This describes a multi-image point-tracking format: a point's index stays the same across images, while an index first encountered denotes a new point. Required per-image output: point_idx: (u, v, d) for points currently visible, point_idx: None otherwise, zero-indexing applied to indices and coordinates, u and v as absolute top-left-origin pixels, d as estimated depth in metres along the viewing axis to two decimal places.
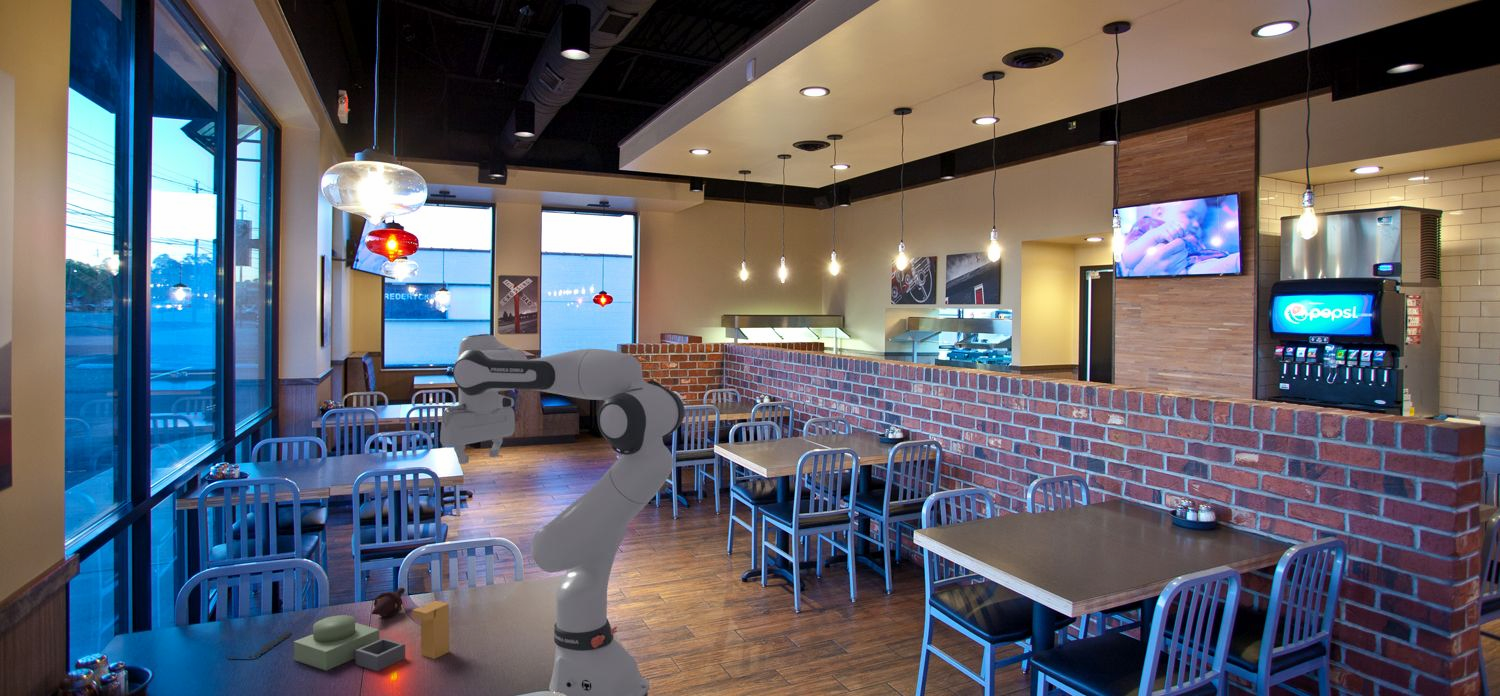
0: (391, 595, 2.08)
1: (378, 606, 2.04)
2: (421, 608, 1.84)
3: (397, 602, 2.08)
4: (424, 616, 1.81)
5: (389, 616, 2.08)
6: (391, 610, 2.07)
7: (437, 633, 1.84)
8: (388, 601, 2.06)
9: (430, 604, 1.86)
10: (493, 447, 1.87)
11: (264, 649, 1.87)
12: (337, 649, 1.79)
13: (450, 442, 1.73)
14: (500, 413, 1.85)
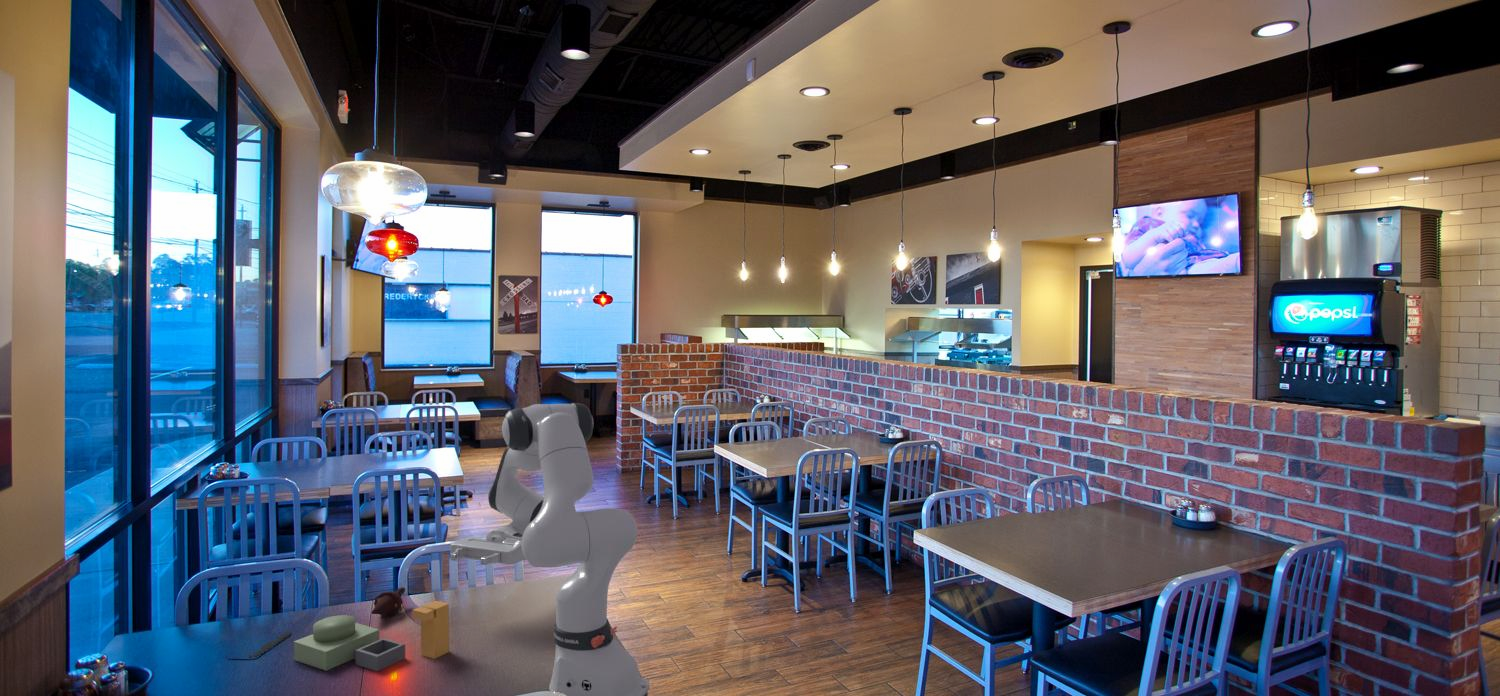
0: (391, 595, 2.08)
1: (378, 606, 2.04)
2: (421, 608, 1.84)
3: (397, 602, 2.08)
4: (424, 616, 1.81)
5: (389, 616, 2.08)
6: (391, 610, 2.07)
7: (437, 633, 1.84)
8: (388, 601, 2.07)
9: (430, 604, 1.86)
10: None
11: (264, 649, 1.87)
12: (337, 649, 1.79)
13: (451, 543, 2.05)
14: (508, 540, 2.06)
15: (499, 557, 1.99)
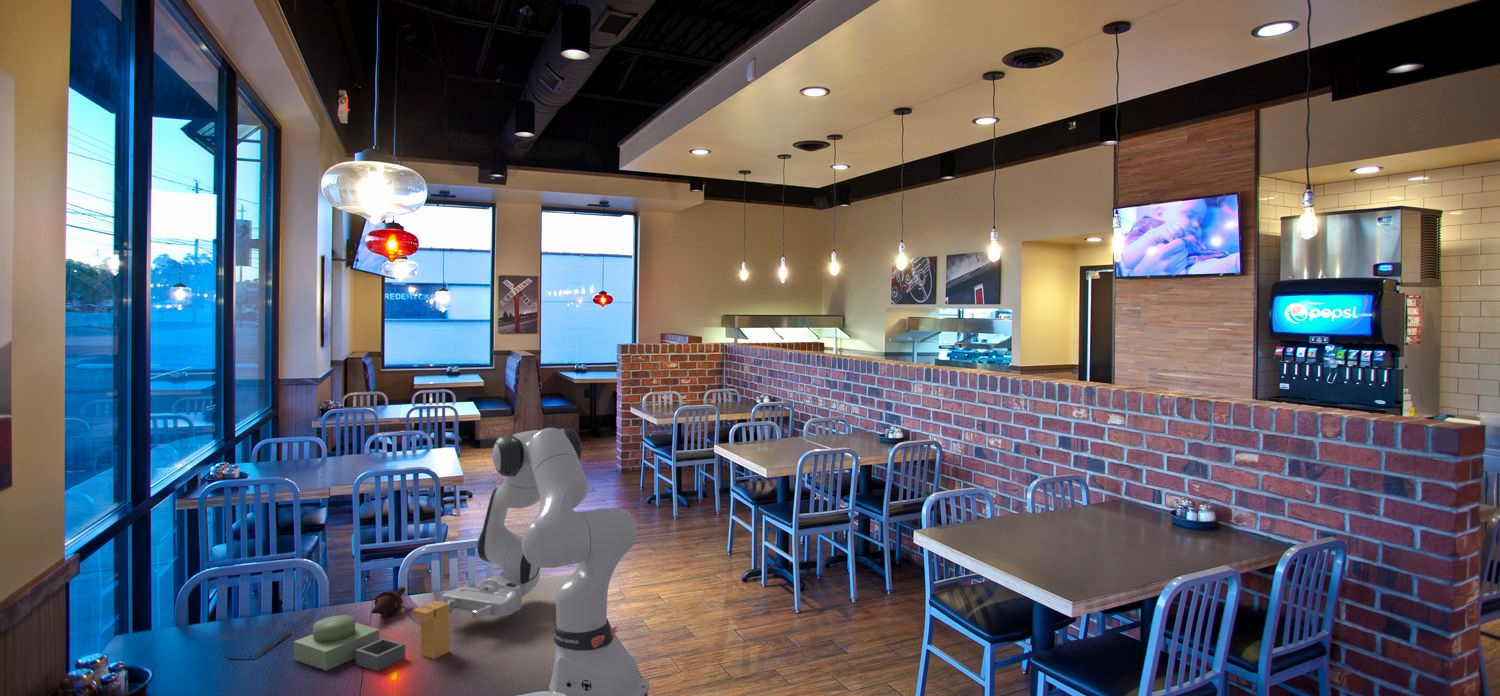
0: (391, 594, 2.09)
1: (378, 605, 2.04)
2: (421, 608, 1.84)
3: (397, 601, 2.08)
4: (424, 616, 1.81)
5: (389, 615, 2.08)
6: (391, 609, 2.07)
7: (437, 633, 1.84)
8: (388, 600, 2.07)
9: (430, 604, 1.86)
10: None
11: (264, 649, 1.87)
12: (337, 649, 1.79)
13: (443, 594, 2.03)
14: (501, 590, 2.03)
15: (491, 609, 1.96)
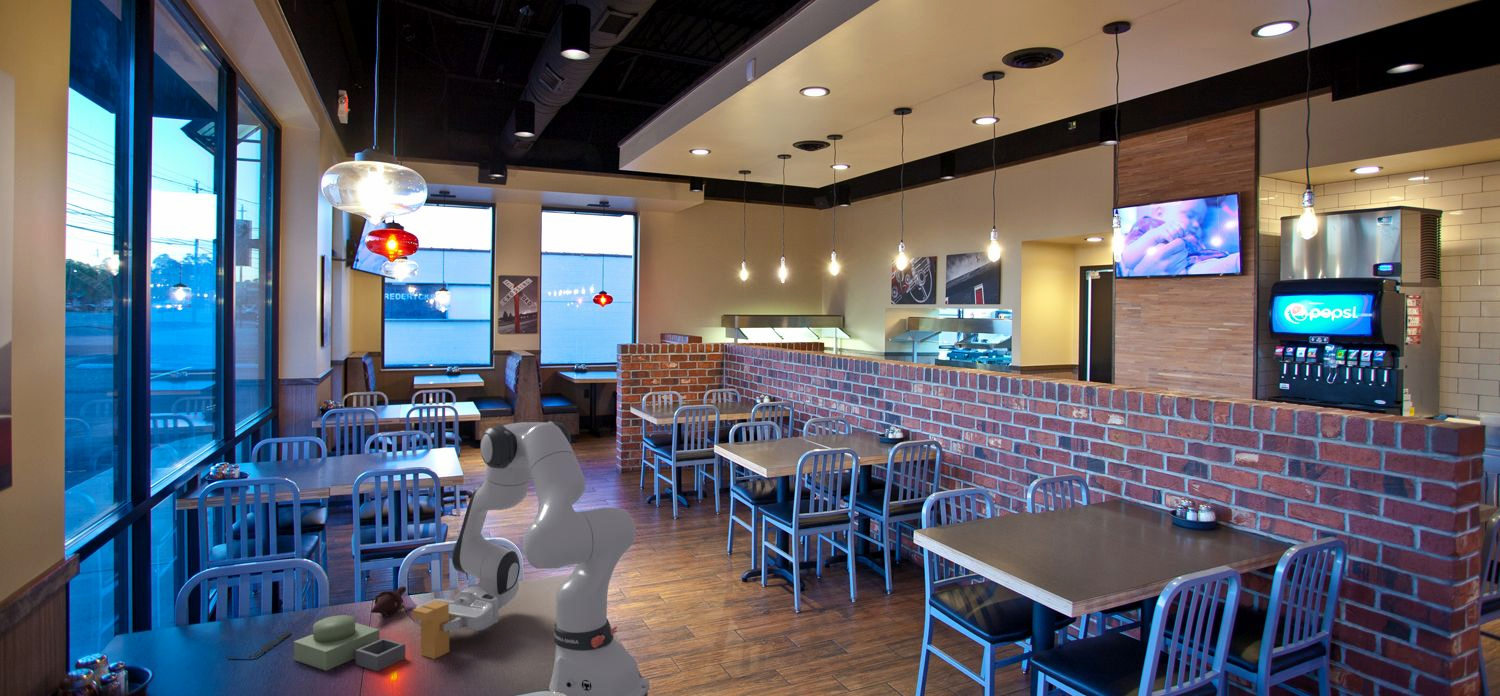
0: (391, 594, 2.09)
1: (378, 604, 2.05)
2: (421, 608, 1.84)
3: (397, 601, 2.09)
4: (424, 616, 1.81)
5: (389, 615, 2.09)
6: (391, 609, 2.08)
7: (437, 633, 1.84)
8: (388, 600, 2.07)
9: (430, 604, 1.86)
10: None
11: (264, 649, 1.87)
12: (337, 649, 1.79)
13: None
14: (477, 602, 1.94)
15: (461, 622, 1.88)
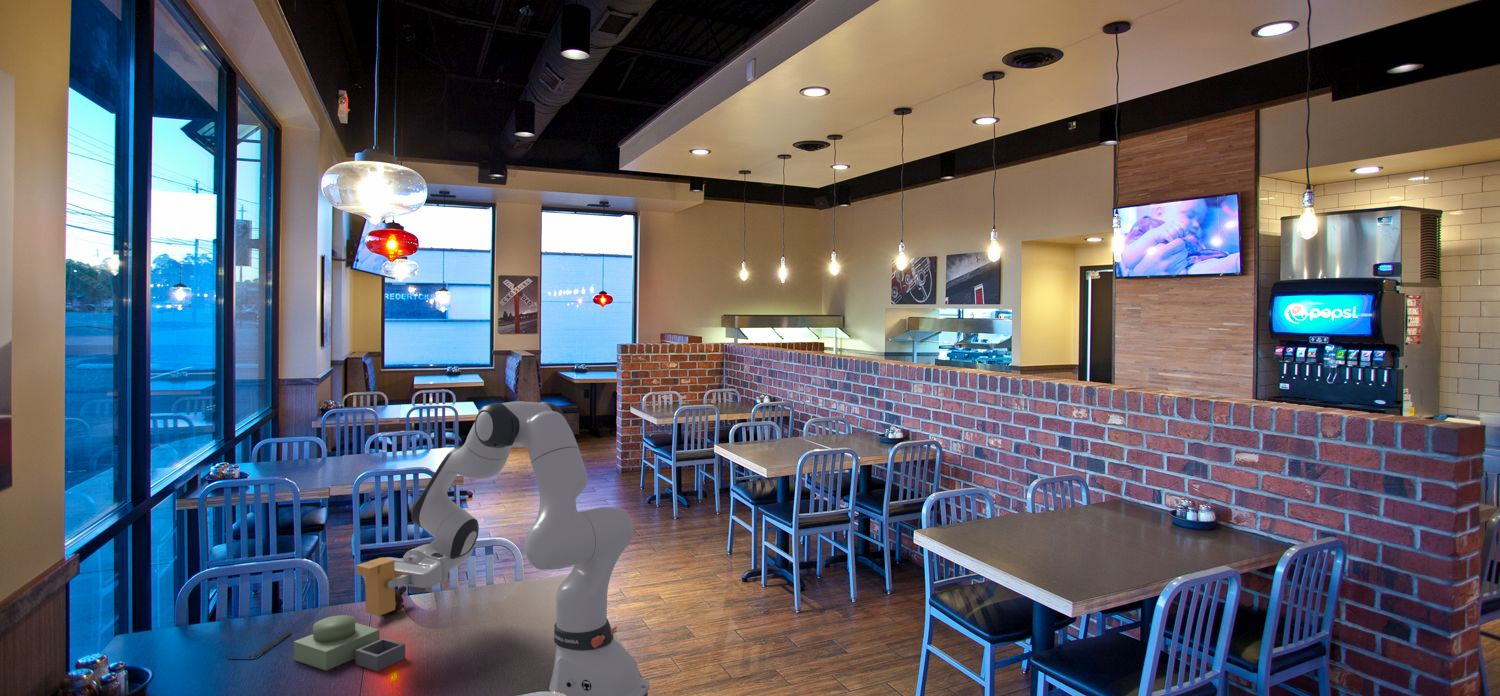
0: None
1: None
2: (365, 564, 1.79)
3: (397, 600, 2.09)
4: (367, 571, 1.76)
5: (389, 614, 2.09)
6: None
7: (382, 590, 1.79)
8: None
9: (375, 560, 1.81)
10: None
11: (264, 649, 1.87)
12: (337, 649, 1.79)
13: None
14: (425, 560, 1.89)
15: (407, 579, 1.83)
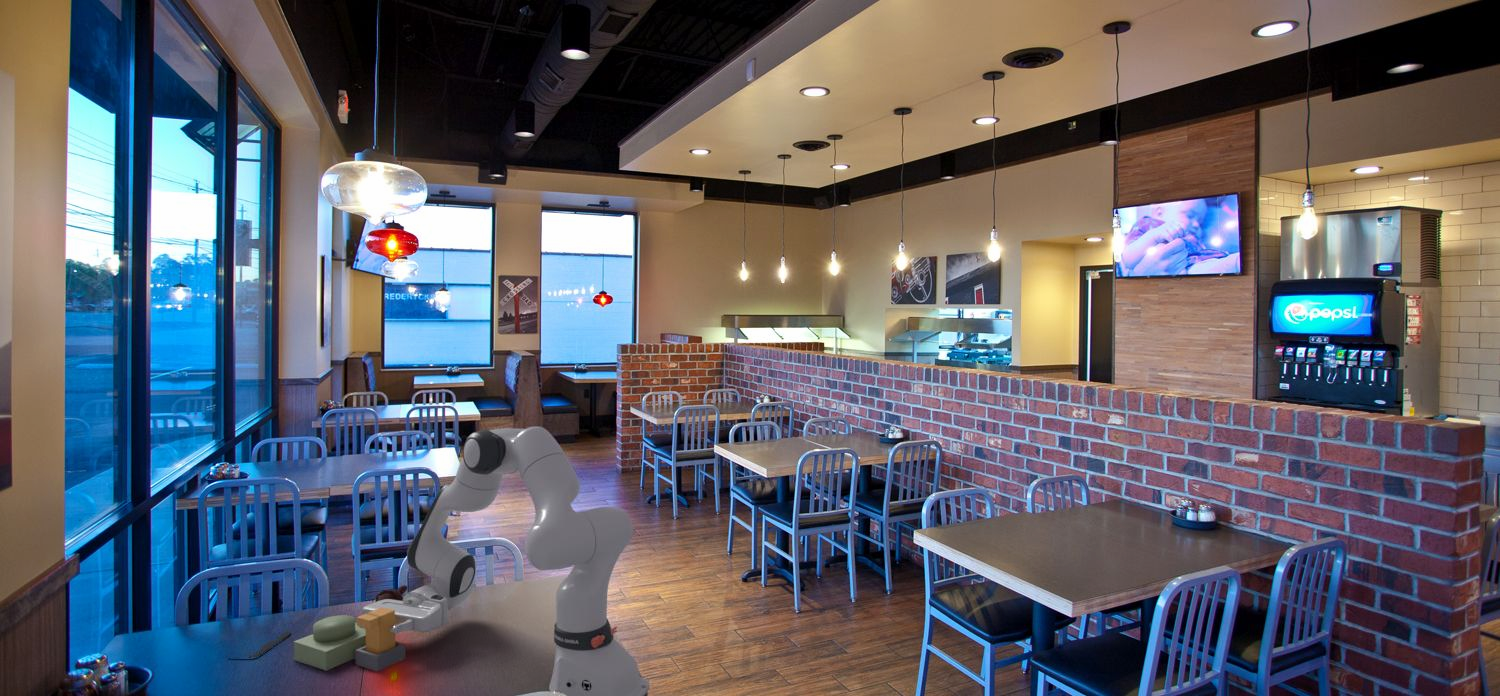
0: (391, 592, 2.10)
1: None
2: (366, 615, 1.79)
3: None
4: (368, 623, 1.77)
5: None
6: None
7: (382, 641, 1.80)
8: (388, 598, 2.08)
9: (375, 611, 1.82)
10: None
11: (264, 649, 1.87)
12: (337, 649, 1.79)
13: None
14: (425, 603, 1.89)
15: (412, 624, 1.83)
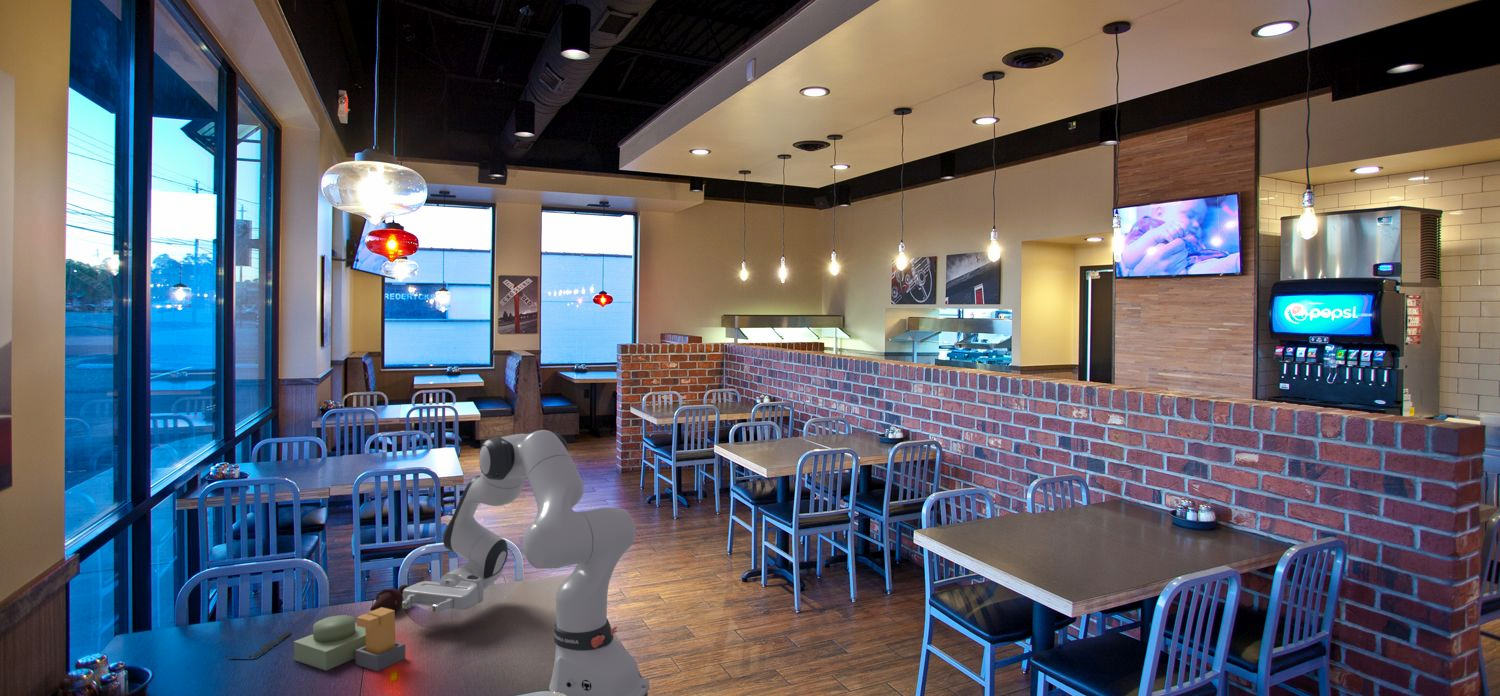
0: (392, 592, 2.11)
1: (377, 602, 2.06)
2: (366, 615, 1.79)
3: (397, 599, 2.10)
4: (368, 623, 1.77)
5: None
6: (391, 607, 2.09)
7: (382, 641, 1.80)
8: (388, 598, 2.09)
9: (375, 611, 1.82)
10: None
11: (264, 649, 1.87)
12: (337, 649, 1.79)
13: None
14: (462, 583, 2.01)
15: (452, 603, 1.95)
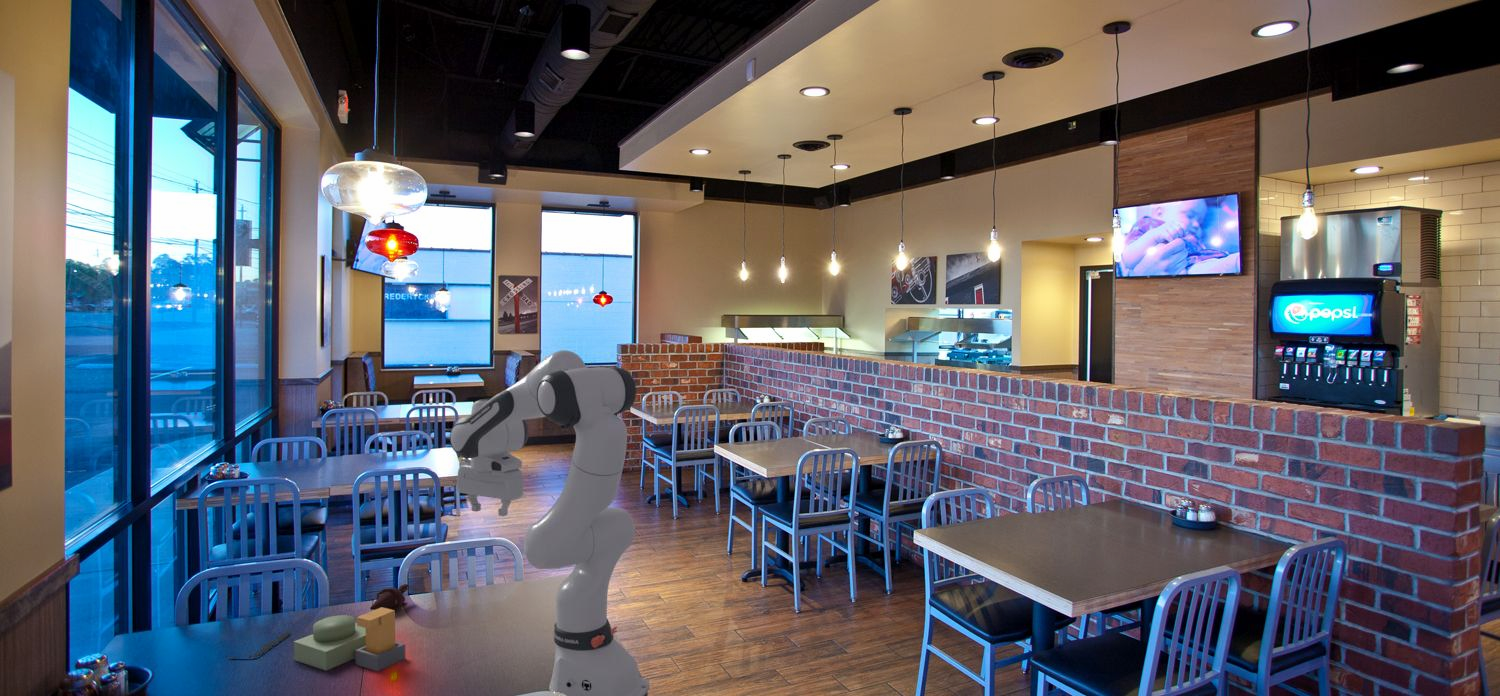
0: (392, 591, 2.11)
1: (377, 602, 2.07)
2: (366, 615, 1.79)
3: (397, 598, 2.10)
4: (368, 623, 1.77)
5: None
6: (391, 606, 2.10)
7: (382, 641, 1.80)
8: (388, 597, 2.09)
9: (375, 611, 1.82)
10: None
11: (265, 649, 1.87)
12: (337, 649, 1.79)
13: None
14: (494, 475, 1.93)
15: (508, 499, 1.95)
